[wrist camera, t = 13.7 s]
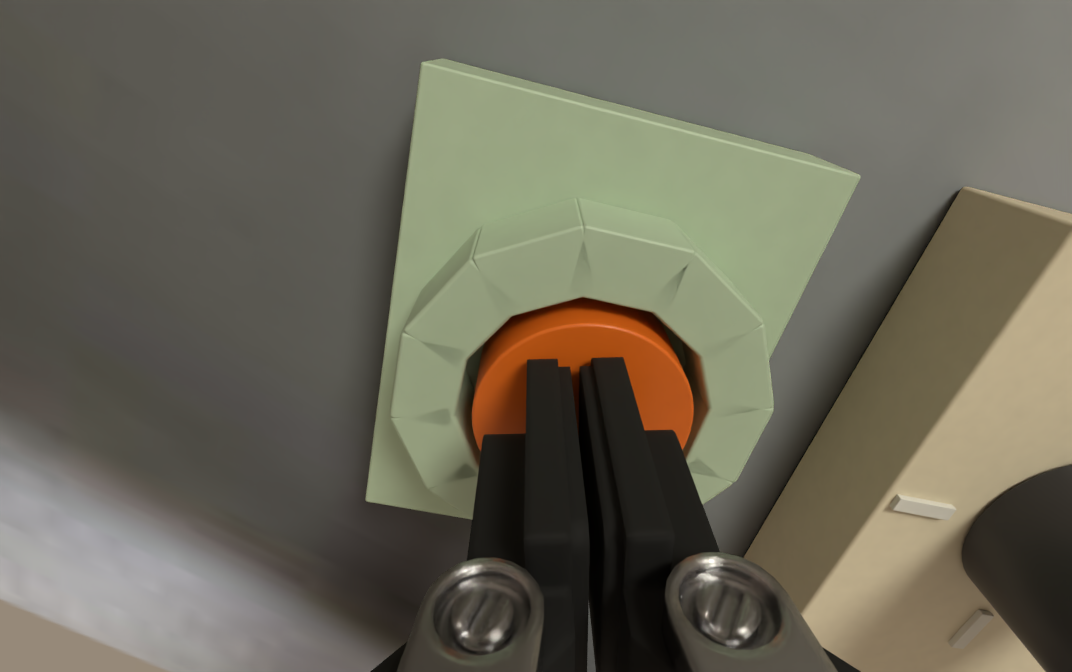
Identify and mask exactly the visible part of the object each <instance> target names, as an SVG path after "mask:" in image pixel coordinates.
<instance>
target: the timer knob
mask: <svg viewBox="0 0 1072 672" xmlns="http://www.w3.org/2000/svg"><path fill="white" fill-rule="evenodd" d="M962 563H963V567H964V570H965V572H966V574H967V576H968V577H969V578H970V579H971V581H972V582H973V583H974V584H975V586H976V587H977V588H978V589H979V591H980V592H981V593H982V594H983V595H984V597H985V598H986V599H987V600H988V602H989V603H990V604H991V605H992V607H993V608H994V609H995V610H996V611H997V613H998V614H999V615H1000V616H1001V618H1002V619H1003V620H1004V621H1005V623H1006V624H1007V625H1008V626H1009V628H1010V629H1011V630H1012V631H1013V632H1014V634H1015V635H1016V636H1017V637H1018V639H1019V640H1020V641H1021V642H1022V644H1023V645H1024V646H1025V647H1026V648H1027V650H1028V651H1029V652H1030V653H1031V655H1032V656H1033V657H1034V658H1035V660H1036V661H1037V662H1038V663H1039V664H1040V666H1041V667H1042V668H1043V669H1044V671H1045V672H1072V465H1068V466H1064V467H1060V468H1057V469H1054V470H1051V471H1048V472H1045V473H1043V474H1040V475H1038V476H1035V477H1033V478H1031V479H1029V480H1027V481H1025V482H1023V483H1021V484H1019V485H1018V486H1016V487H1014V488H1013V489H1011V490H1009V491H1008V492H1006V493H1005V494H1004V495H1002V496H1001V497H999V498H998V499H997V500H995V501H994V502H993V503H992V504H991V505H990V506H989V507H988V508H986V509H985V510H984V512H983V513H982V514H981V515H980V516H979V517H978V518H977V519H976V521H975V522H974V524H973V525H972V526H971V528H970V530H969V532H968V533H967V535H966V538H965V540H964V543H963V548H962Z"/></svg>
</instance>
